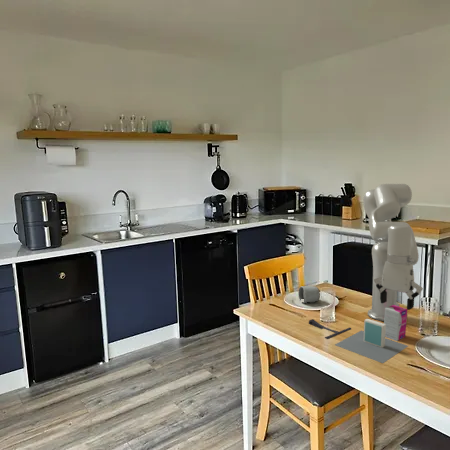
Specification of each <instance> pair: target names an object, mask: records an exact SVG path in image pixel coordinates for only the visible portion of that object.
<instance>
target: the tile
mask: <svg viewBox="0 0 450 450" xmlns="http://www.w3.org/2000/svg"><path fill="white" fill-rule="evenodd" d="M363 331H364V342H367V343H370V344H373V345H375V346H378V347H381V348H383V347H384V346H385V338H386V337H385V334H386V324H384V322H383V323H382V322H381V321H378V320H375V319H374V320H373V319H369V318H366V319H364V321H363Z"/></svg>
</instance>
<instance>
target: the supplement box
mask: <svg viewBox="0 0 450 450" xmlns="http://www.w3.org/2000/svg"><path fill="white" fill-rule="evenodd" d="M407 321H408V310H407V308H405V307H401V306H400V305H399V306H396V305H392V306H389V307H387V308H385V317H384V321H383V324H386V334H385V338H386V339H389V340H392V341H395V342H398V341H400V340H401V339H404V338H406V333H407V331H406V330H407Z"/></svg>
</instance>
